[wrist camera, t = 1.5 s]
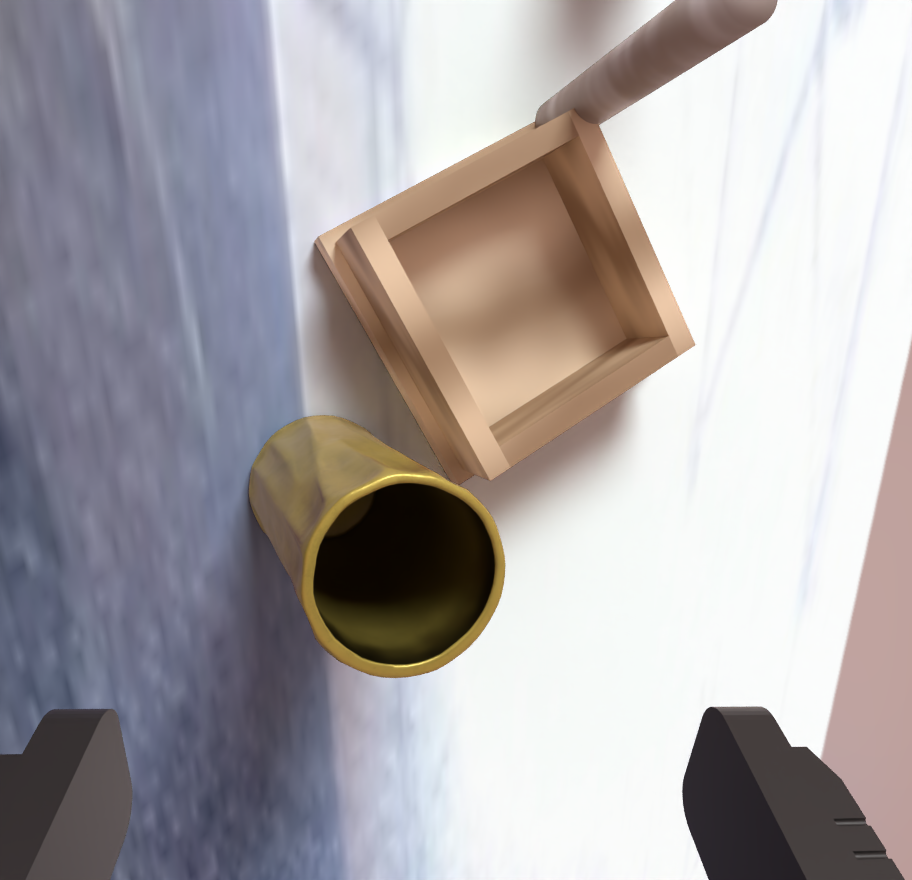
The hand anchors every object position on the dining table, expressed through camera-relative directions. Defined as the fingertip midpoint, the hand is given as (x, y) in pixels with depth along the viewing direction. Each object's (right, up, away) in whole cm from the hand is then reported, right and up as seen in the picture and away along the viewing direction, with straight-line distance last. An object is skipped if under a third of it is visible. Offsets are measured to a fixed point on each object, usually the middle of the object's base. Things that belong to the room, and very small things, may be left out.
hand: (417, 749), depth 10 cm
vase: (-5, +2, +21) cm, 22 cm away
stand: (+2, +11, +23) cm, 25 cm away
